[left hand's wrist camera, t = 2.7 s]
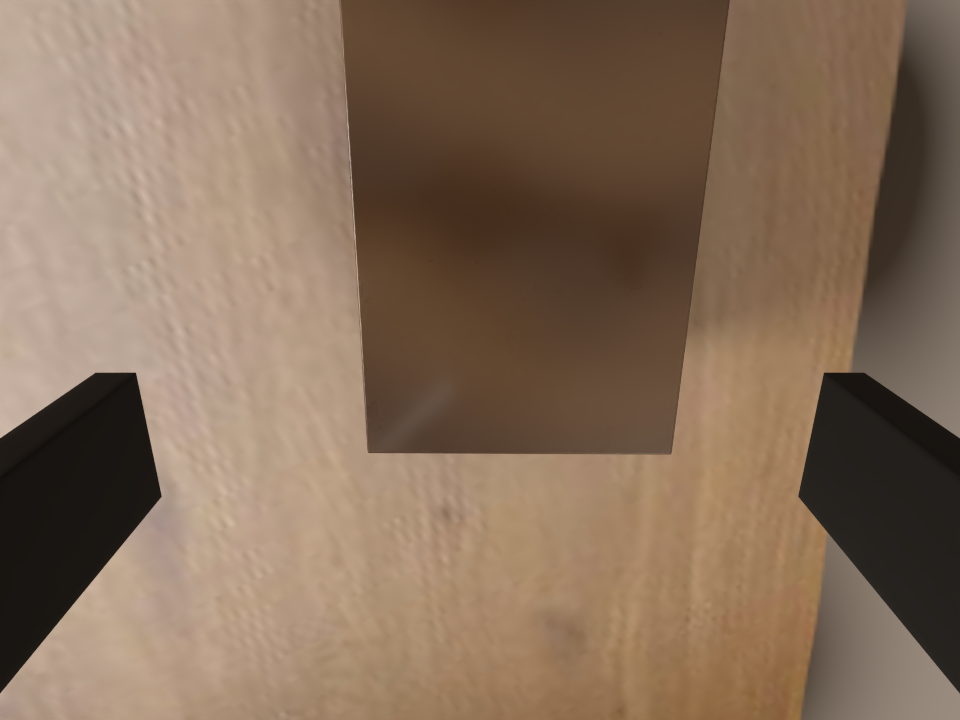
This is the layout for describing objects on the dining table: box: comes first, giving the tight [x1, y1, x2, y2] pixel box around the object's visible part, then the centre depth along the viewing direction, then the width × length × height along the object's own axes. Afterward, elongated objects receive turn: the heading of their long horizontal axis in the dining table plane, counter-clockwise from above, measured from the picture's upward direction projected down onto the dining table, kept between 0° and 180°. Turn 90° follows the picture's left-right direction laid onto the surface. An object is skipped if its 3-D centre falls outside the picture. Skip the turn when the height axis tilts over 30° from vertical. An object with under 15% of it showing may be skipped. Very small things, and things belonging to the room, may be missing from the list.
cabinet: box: [339, 0, 730, 454], centre depth 23 cm, size 16×10×10 cm, turn 0°
